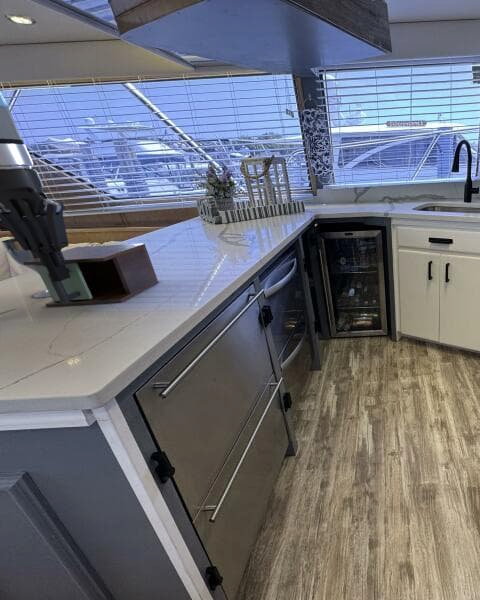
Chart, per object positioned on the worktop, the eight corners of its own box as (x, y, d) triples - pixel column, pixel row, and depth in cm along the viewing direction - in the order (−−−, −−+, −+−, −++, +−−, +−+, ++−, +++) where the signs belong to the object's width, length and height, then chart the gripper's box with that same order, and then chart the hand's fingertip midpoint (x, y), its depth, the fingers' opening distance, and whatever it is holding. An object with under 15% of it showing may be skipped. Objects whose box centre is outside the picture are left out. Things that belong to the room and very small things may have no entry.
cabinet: (46, 306, 79) (22, 262, 74) (94, 285, 92) (76, 246, 88) (121, 302, 80) (103, 257, 75) (158, 282, 93) (144, 243, 88)
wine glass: (25, 296, 86) (-5, 241, 80) (62, 286, 93) (37, 234, 87) (40, 299, 83) (10, 242, 77) (78, 289, 90) (53, 235, 84)
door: (35, 308, 75) (15, 271, 71) (56, 300, 80) (38, 264, 76) (75, 306, 75) (56, 269, 72) (93, 297, 80) (76, 262, 76)
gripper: (59, 167, 68) (104, 272, 77) (-6, 169, 67) (47, 275, 77) (23, 167, 61) (77, 283, 70) (-49, 170, 60) (15, 286, 70)
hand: (62, 279), depth 73 cm, fingers closed
